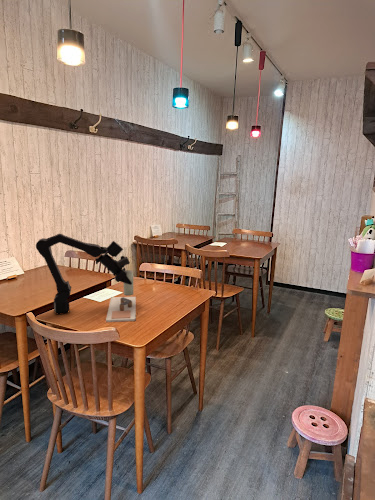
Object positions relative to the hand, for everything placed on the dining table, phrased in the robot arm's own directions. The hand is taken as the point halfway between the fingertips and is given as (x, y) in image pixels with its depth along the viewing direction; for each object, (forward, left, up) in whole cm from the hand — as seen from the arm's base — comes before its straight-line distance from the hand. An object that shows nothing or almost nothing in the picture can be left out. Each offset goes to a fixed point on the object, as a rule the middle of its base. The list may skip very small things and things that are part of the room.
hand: (131, 282), depth 183 cm
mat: (-11, -11, -13) cm, 20 cm away
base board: (-6, -1, -13) cm, 15 cm away
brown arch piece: (-5, -1, -12) cm, 13 cm away
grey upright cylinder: (-1, 0, -6) cm, 6 cm away
